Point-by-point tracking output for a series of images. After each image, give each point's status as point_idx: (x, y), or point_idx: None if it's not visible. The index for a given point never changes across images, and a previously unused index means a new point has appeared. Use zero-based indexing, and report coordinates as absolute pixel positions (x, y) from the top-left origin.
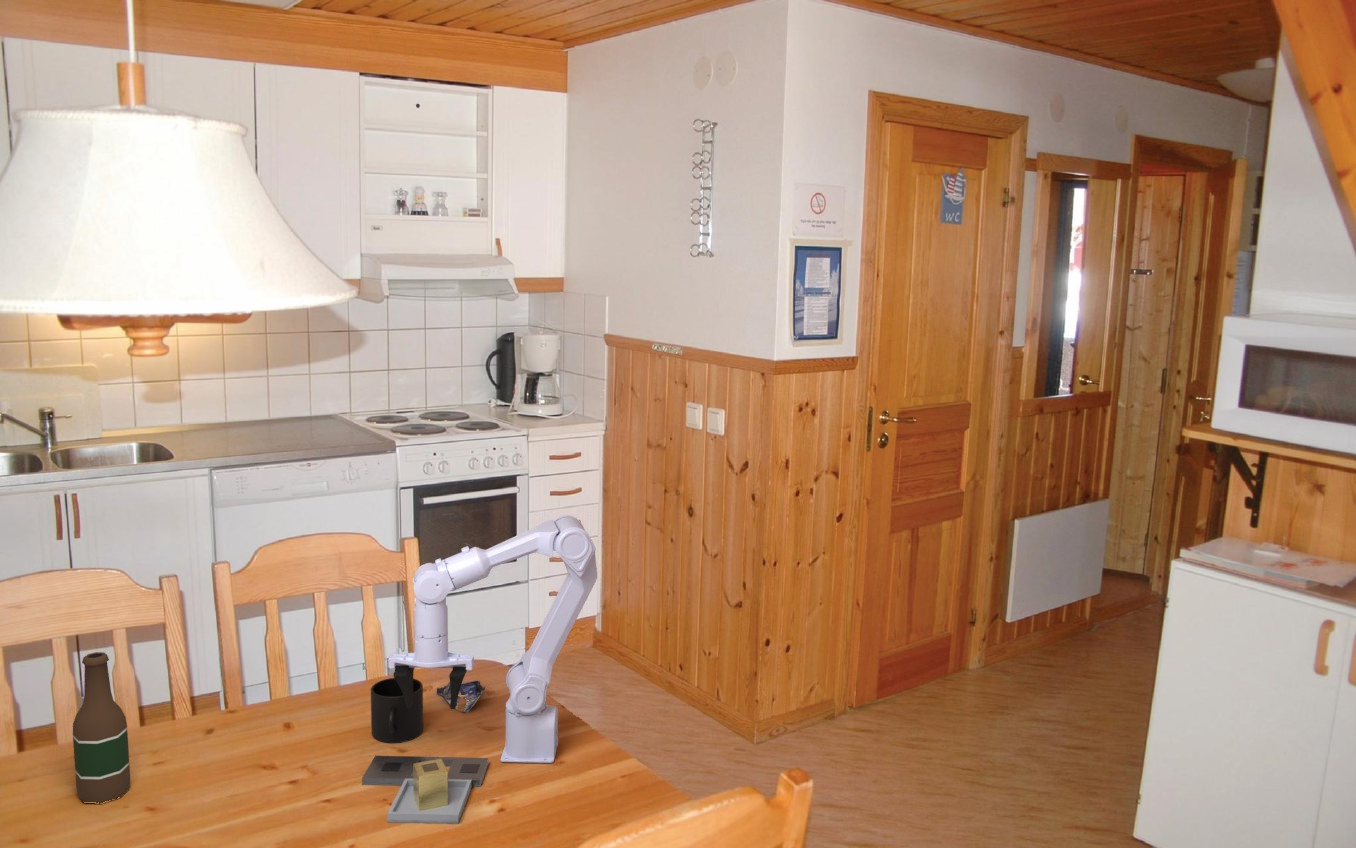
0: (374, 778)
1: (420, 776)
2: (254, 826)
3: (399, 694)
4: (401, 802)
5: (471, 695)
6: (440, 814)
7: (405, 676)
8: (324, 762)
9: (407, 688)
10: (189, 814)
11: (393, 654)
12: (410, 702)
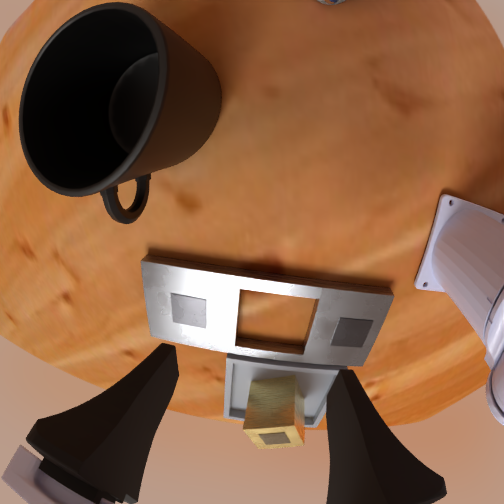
0: (171, 340)
1: (261, 448)
2: (90, 374)
3: (114, 32)
4: (234, 387)
5: None
6: None
7: (134, 502)
8: (72, 244)
9: (147, 449)
10: (34, 336)
11: (11, 487)
12: (171, 392)
